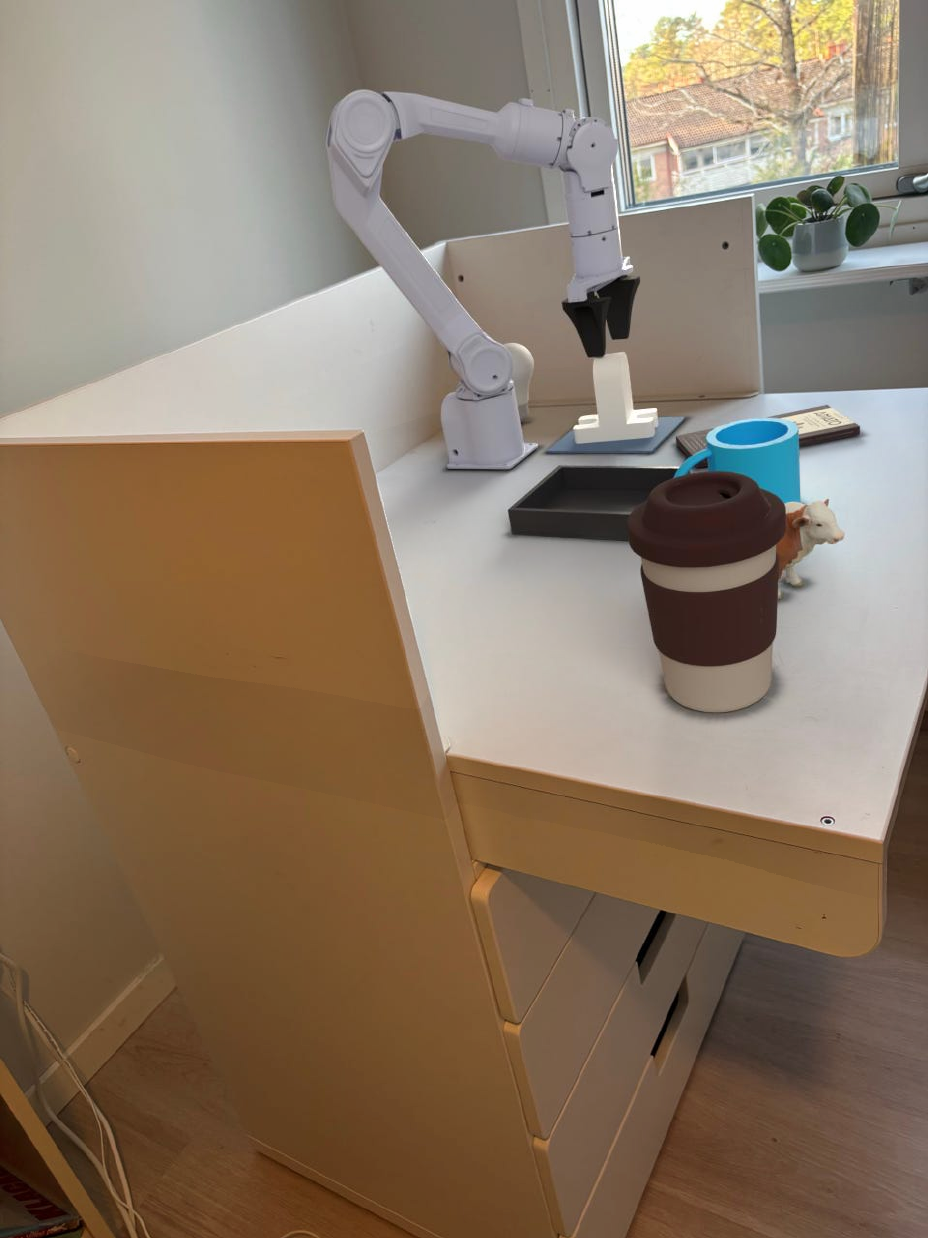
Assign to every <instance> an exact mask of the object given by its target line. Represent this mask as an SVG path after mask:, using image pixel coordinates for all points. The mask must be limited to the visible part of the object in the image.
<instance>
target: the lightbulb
mask: <svg viewBox="0 0 928 1238" xmlns="http://www.w3.org/2000/svg"><path fill="white" fill-rule="evenodd" d="M502 345H503V346H504V347H505V348H507V350H508V351H509V352H510V354H511V356H512V359H513V364H514V370H513V375H512V378H511V379H512V380H513V382H514V388H515V394H516V399H517V405H518V411H519V417H520V423H523V422H525V420H526V419H527V418H528V417H529V416H530V411H529V400H530V398H529V397H530V396H529V388H530V383H531V380H532V376H533V374H534V369H535V361H534V358H533V355H532V353H531V352H530V350H528V349H527V347H525V346H524V345H522V344H520V343H516V342H507V343H504V344H502Z"/></svg>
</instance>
